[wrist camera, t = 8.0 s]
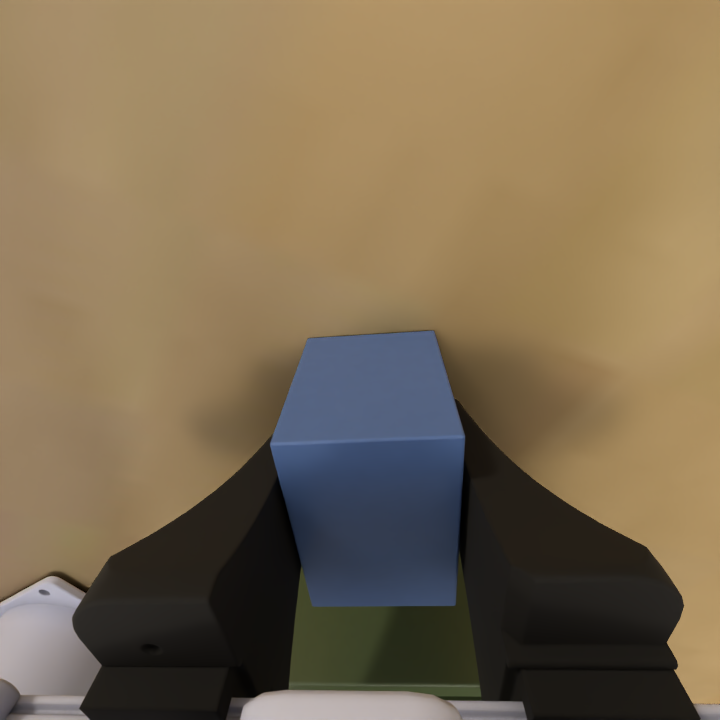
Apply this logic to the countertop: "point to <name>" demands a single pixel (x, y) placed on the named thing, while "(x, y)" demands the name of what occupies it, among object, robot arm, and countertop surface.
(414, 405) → the block
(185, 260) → the countertop surface
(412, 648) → the box
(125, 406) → the countertop surface
